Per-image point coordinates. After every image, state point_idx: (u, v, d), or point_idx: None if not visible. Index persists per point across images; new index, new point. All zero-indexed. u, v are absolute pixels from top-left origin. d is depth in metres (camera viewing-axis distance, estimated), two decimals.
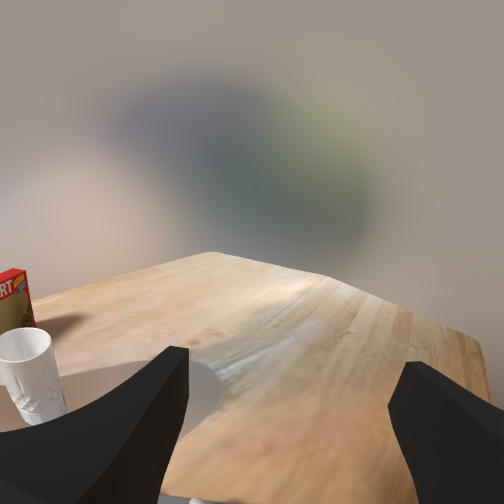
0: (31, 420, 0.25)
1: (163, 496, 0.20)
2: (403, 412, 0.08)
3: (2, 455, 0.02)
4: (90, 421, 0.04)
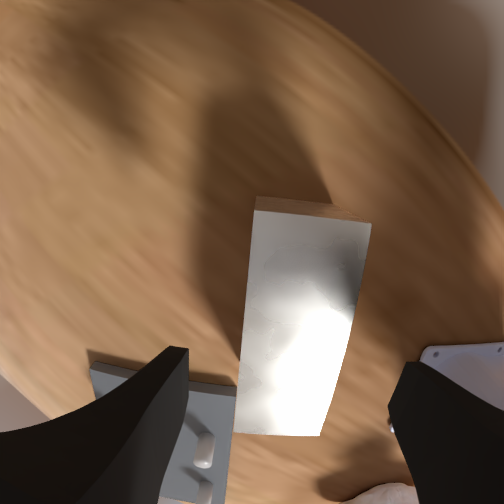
0: None
1: None
2: (403, 412, 0.08)
3: (2, 455, 0.02)
4: (90, 421, 0.04)
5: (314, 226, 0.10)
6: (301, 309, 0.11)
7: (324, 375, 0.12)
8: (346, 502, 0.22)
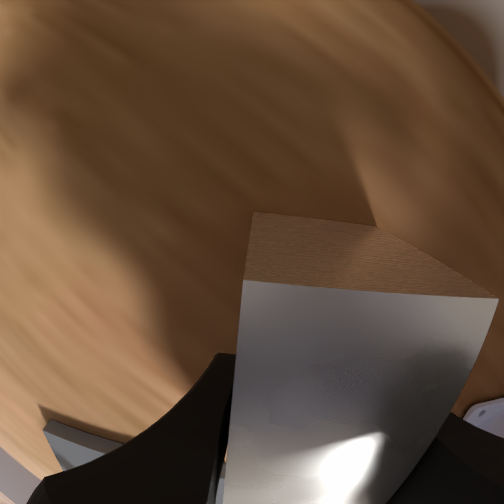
0: None
1: None
2: None
3: (90, 498, 0.02)
4: (168, 442, 0.04)
5: (393, 316, 0.04)
6: (338, 458, 0.05)
7: None
8: None
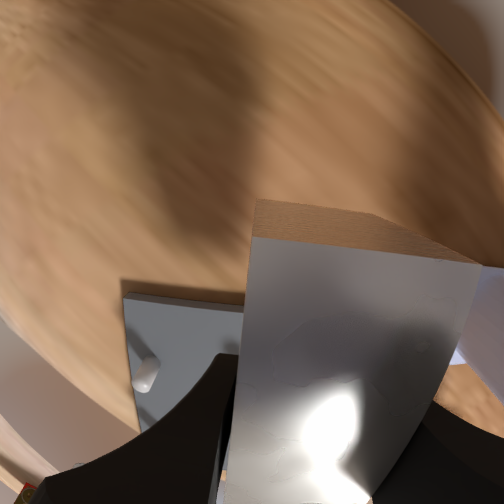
0: None
1: (136, 395, 0.20)
2: None
3: (90, 498, 0.02)
4: (168, 442, 0.04)
5: (384, 273, 0.04)
6: (339, 421, 0.05)
7: (358, 490, 0.06)
8: None
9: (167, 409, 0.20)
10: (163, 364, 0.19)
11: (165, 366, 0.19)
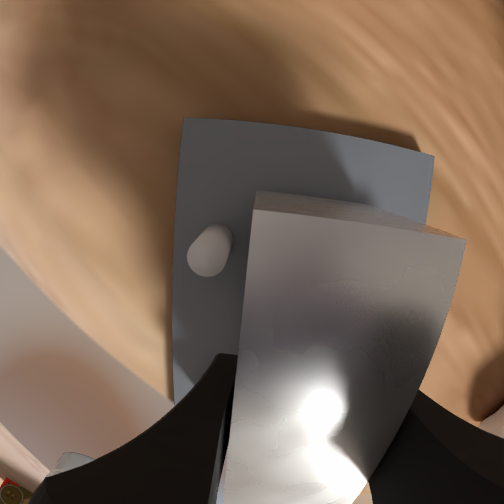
0: None
1: (175, 314, 0.13)
2: None
3: (91, 498, 0.02)
4: (169, 442, 0.04)
5: (373, 244, 0.05)
6: (335, 390, 0.06)
7: (357, 468, 0.06)
8: (494, 414, 0.15)
9: (228, 339, 0.13)
10: (237, 241, 0.12)
11: (240, 245, 0.12)
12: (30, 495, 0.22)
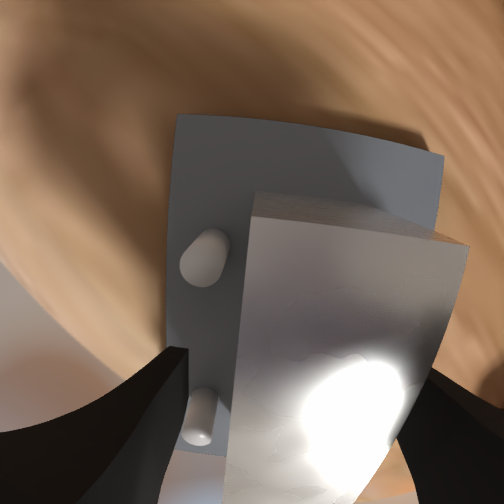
0: None
1: (170, 323, 0.12)
2: None
3: (2, 455, 0.02)
4: (90, 422, 0.04)
5: (374, 251, 0.05)
6: (335, 397, 0.05)
7: (356, 472, 0.06)
8: None
9: (225, 349, 0.12)
10: (235, 246, 0.11)
11: (238, 251, 0.11)
12: None
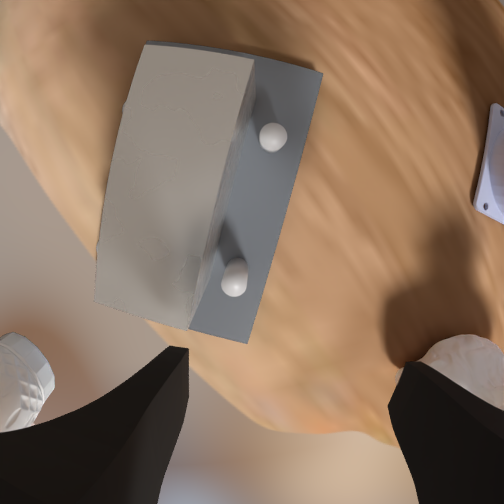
0: (48, 381, 0.20)
1: None
2: (403, 412, 0.08)
3: (2, 455, 0.02)
4: (91, 422, 0.04)
5: (194, 57, 0.09)
6: (170, 138, 0.10)
7: (191, 231, 0.10)
8: None
9: None
10: None
11: None
12: None
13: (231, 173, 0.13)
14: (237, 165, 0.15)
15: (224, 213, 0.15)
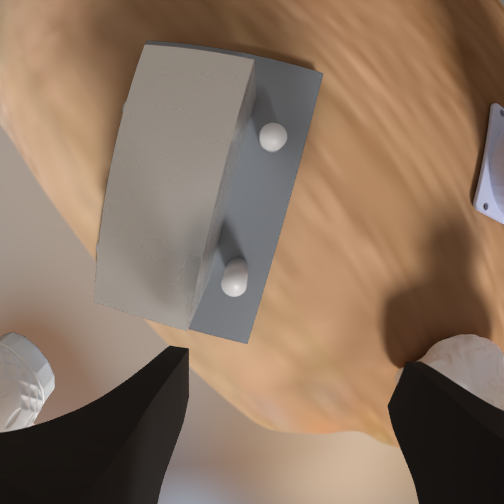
0: (48, 381, 0.20)
1: None
2: (403, 412, 0.08)
3: (2, 455, 0.02)
4: (91, 422, 0.04)
5: (194, 57, 0.09)
6: (170, 138, 0.10)
7: (191, 231, 0.10)
8: None
9: None
10: None
11: None
12: None
13: (231, 173, 0.13)
14: (237, 165, 0.15)
15: (224, 213, 0.15)
